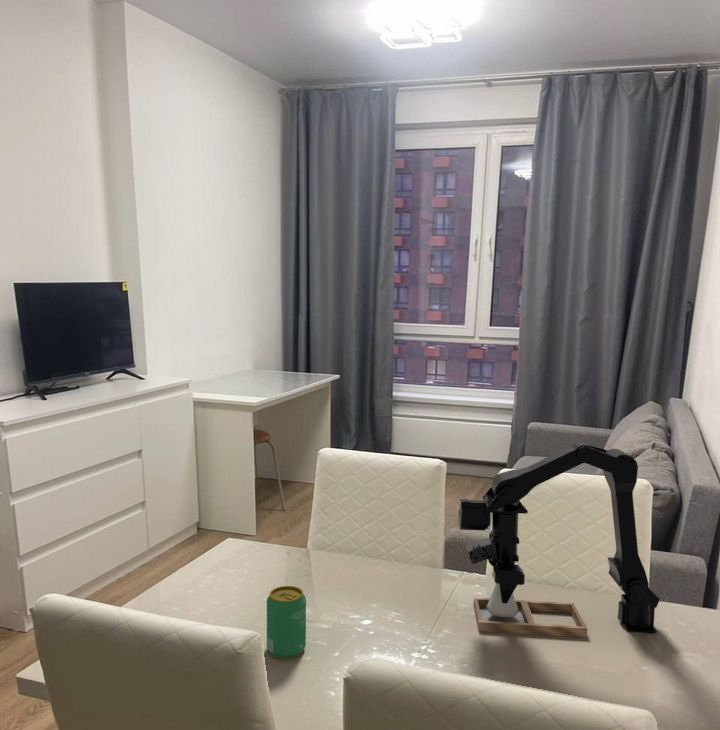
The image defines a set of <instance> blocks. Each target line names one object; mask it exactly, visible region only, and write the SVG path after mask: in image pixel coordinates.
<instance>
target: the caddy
mask: <svg viewBox="0 0 720 730" xmlns="http://www.w3.org/2000/svg"><path fill="white" fill-rule="evenodd" d="M490 598H491V597H490ZM490 598H488V597H473V610H474V615H475V620H476V625H477V631H478V632H491V633H492V632H493V633H504V634H505V633H508V634H522V635H540V636H556V637H572V638H587V637H588V627H587V626H586V624H585V621H584V620H583V617H582V616H581V615H580V613H579V611H578V609H577V607H576V605H575V603H574V602H557V601H543V600H541V601H539V600H522V599H515V601H516V604H517V607H518V610H519V612H518V613H517V615H516V616H515V617H500V616H496V615H493V614H490V613H489V611H488V610H487V608H486V607H487V605H488V602H489V600H490ZM532 612H545V613H546V612H550V613H566V614H567V613H568V614H570V615H571V617H572V618H573V620H574V623H575V625H563V624H561V625H560V624H547V623H546V624H544V623H536V621H535V619H534V617H533V615H532Z"/></svg>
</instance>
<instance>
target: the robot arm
mask: <svg viewBox="0 0 720 730" xmlns="http://www.w3.org/2000/svg"><path fill="white" fill-rule="evenodd" d="M582 464H585V465H590V466H592V467H595V468H597V469H599V470H602V472H603V475H604V478H605V481H606V484H607V485H608V487H609V490H610V498H611V508H612V519H613V528H614V529H613V530H614V538H615V549H616V550H615V554H614V556H613V557H610V556H609V557H607V561H608V566H609V570H608V575H609V576H610V577H611V579H613V582H615V583H616V585H617V586H618V587H619V588H620V590H621V591H622V592H623V594H621V595H620V596H621V597H620V601H618V610H617V620H618V621H619V622H620V624H621V625H622V626H623V628H624V630H626V631H627V632H637V633H639V632H641V633H655V634H656V633H657V631H658V630H657V628H656V627H655V609H656V608H657V607H658V605H659V603H660V598H659V596H658V595H656V593H655V592H654V591H653V590H652V589H651V587H649V586H650V584H649V581H648V580H649V579H648V577H647V572H646V570H645V567H644V565H643V563H642V560H641V558H640V556H639V549H638V548H639V547H638V536H637V527H636V514H635V505H634V495H633V493H634V490H635V487H636V485H637V481H638V471H639V467H638V462H637V460H636V459H635V458H634V457H632V456H631V455H629V454H628V453H626V452H624V451H623V450H621V449H618V448H610V449H605V448H602V447H598V446H594V445H590V444H587V443H586V442H585V443H584V442H582V441H577V442H574V443H573V444H572V445H570V446H568V447H566V448H565V449H562V450H559V451H558V452H556V453H554V454H551V455H549V456H547V457H546V458H543V459H541V460H539V461H537V462H535V463H533V464H530V465H529V466H527V467H523V468H515V469H511V470H508V471H504V472H500V473H497V474H496V475H495V476H493V478H492V481H491V486H490V487H489V488H488V490H486V492H485V493H484V495H482V500H481V499H468V498H461V499H460V503H459V509H458V511H457V513H458V514H457V515H458V517H457V518H458V521H457V522H458V529H459V531H482V532H484V531H486V530H487V529H488V528H489V527H490V526H491V530H490V531H489V533H488V537H487V538H481V539H476V540H474V541H472V542H468V543H467V544H465V550H466V553H467V556H468V558H469V560H470V561H469V562H470V564H471V565H476V564H478V563H479V562H480V563H481V562H483V561H488V563H489V565H491V567H493V568H492V573H491V575H492V578H493V581H494V583H495V584H496V583H497V584H499V586H500V593H501V599H502V603H508V601H509V599H510V597H511V595H512V593H513V594H514V592H515V590H516V588H517V587H518V586H523V585H525V582H526V581H525V577H526V576H525V573H524V570H523V568H522V567H520V565H519V564H515V563H517V562H519V559H520V557H519V555H518V545H520V538H519V535H518V534H519V514H523V515H524V514H525V515H527V514H528V513H529V511H528V509H527V507H526V506H525V505H524V504H522V502H521V500H522V499H524V498H525V497H526V496H528V495H529V493H530V492H531V491H532V490H533V489H534V488H535V487H537V486H539V485H541V484H542V483H545V482H547V481H549V480H551V479H553V478H555V477H557V476H560V475H562V474H563V473H566V472H568V471H570V470H572V469H574V468H576V467H579V466H581V465H582Z"/></svg>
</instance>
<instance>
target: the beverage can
mask: <svg viewBox="0 0 720 730" xmlns="http://www.w3.org/2000/svg"><path fill="white" fill-rule="evenodd" d="M306 597H307V596H306V595H305V594H304V591H303V590H302V588H300V587H298V586H293V585H282V586H279V587H278V586H277V587H276V588H273V589H272V590H271V591H270V592H269V595H268V597H267V598H266V649H267V650H268V652H269V655H270V656H271V657H273V658H275V659H278V660H293V659H296V658H297V657H299V656H301V654H303V652H304V649H305V648H306V646H307V598H306Z"/></svg>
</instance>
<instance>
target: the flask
mask: <svg viewBox="0 0 720 730" xmlns="http://www.w3.org/2000/svg"><path fill="white" fill-rule="evenodd" d="M515 600H516V598H515V596H514V592H513V593H512V595H511V597H510V599H509V601H508V603H502V599H501V593H500V586H499V584H497V583H495V585H494V588H493V590H492V593H491V596H490V600H489V602H488V605H487V607H486V608H487V610H488V611H489V613H490V614H493V615H496V616H500V617H515V616H516V615H517V613H518V612H519V610H518V607H517V604H516V601H515Z"/></svg>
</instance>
